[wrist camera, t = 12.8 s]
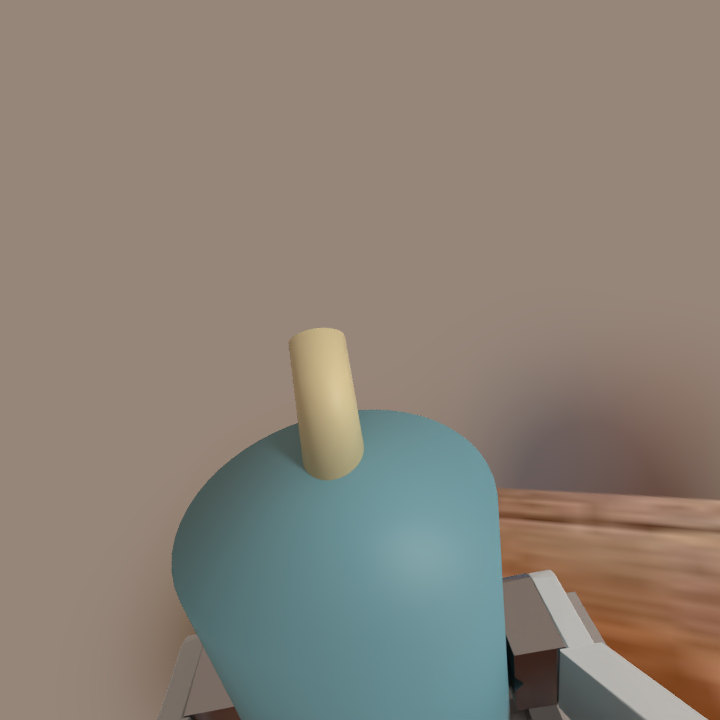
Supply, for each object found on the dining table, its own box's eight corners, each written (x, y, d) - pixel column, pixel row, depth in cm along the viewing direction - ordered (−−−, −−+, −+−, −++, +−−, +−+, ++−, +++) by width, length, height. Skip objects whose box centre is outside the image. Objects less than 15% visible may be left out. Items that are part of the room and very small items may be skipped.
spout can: (470, 644, 14) (430, 293, 9) (558, 937, 9) (575, 458, 4) (316, 672, 14) (196, 338, 9) (307, 980, 9) (7, 565, 4)
